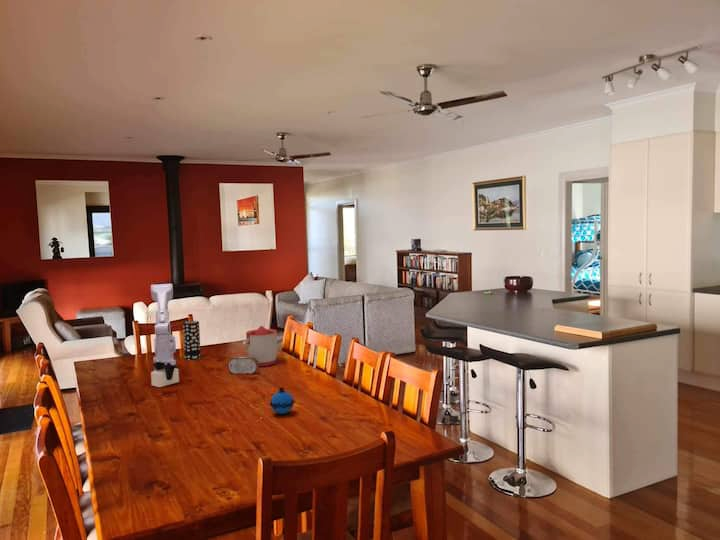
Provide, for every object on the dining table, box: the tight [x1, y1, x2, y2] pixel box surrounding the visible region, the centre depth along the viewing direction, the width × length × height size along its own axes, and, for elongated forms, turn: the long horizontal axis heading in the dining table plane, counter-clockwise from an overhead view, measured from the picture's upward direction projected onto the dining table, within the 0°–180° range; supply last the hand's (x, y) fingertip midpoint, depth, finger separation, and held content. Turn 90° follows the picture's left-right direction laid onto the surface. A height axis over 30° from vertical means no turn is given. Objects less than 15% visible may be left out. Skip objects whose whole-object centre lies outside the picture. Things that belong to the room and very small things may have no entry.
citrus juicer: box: [242, 325, 278, 367], centre depth 271 cm, size 16×17×20 cm
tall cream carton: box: [150, 367, 180, 388], centre depth 240 cm, size 6×10×6 cm, turn 143°
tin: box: [227, 355, 260, 375], centre depth 254 cm, size 15×3×8 cm, turn 84°
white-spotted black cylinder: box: [182, 320, 202, 361], centre depth 287 cm, size 8×8×20 cm
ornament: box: [269, 386, 295, 415], centre depth 197 cm, size 9×9×10 cm
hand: (165, 378), depth 240 cm, fingers closed on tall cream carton, 6 cm apart
